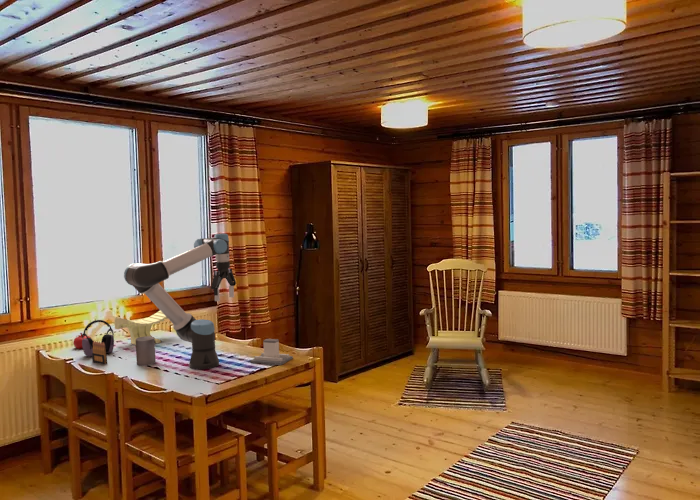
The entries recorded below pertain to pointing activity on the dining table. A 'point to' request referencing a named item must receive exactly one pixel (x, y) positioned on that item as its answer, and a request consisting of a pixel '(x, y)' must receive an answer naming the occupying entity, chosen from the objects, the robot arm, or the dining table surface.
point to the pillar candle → (145, 350)
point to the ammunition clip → (99, 353)
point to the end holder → (272, 359)
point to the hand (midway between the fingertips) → (224, 299)
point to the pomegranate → (79, 341)
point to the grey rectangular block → (271, 348)
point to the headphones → (107, 340)
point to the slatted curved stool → (140, 326)
